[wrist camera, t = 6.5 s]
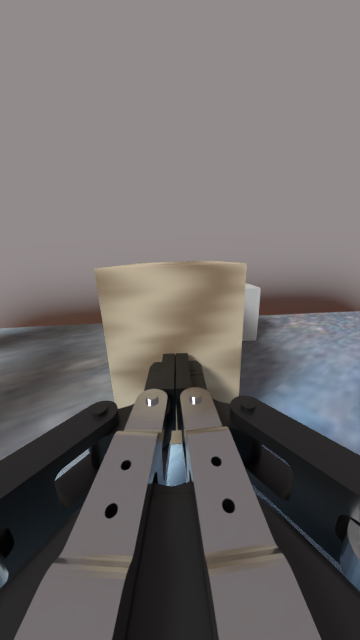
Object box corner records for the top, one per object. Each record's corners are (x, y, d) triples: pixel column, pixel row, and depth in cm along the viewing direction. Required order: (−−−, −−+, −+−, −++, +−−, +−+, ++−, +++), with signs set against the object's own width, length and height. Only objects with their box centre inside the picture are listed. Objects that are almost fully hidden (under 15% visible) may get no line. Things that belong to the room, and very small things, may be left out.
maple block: (121, 445, 14) (94, 268, 11) (148, 354, 27) (140, 263, 24) (236, 441, 14) (246, 263, 11) (207, 352, 27) (207, 260, 24)
